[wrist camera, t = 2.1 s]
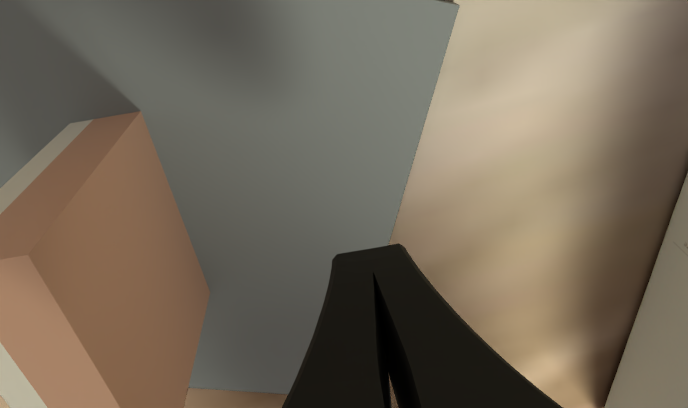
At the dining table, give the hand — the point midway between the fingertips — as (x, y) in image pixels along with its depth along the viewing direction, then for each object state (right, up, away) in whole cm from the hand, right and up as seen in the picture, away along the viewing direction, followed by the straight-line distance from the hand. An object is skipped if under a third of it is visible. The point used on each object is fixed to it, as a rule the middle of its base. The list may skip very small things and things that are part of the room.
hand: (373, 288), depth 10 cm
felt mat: (-7, +2, +4) cm, 8 cm away
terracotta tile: (-6, +1, +4) cm, 7 cm away
